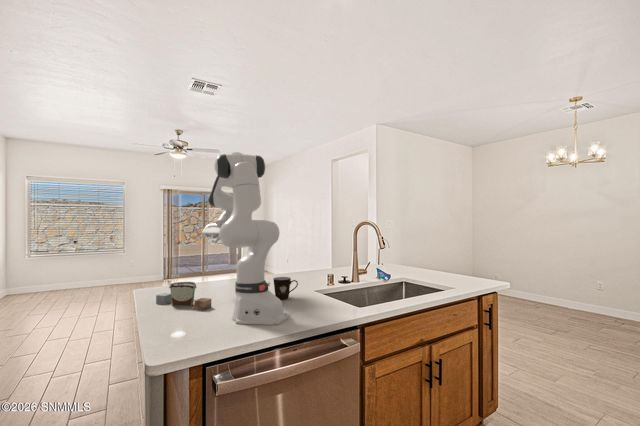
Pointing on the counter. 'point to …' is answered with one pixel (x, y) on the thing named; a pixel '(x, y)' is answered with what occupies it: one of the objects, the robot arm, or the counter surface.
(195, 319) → the counter surface
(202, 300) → the walnut block
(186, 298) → the food container
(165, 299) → the slate block
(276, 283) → the coffee mug
